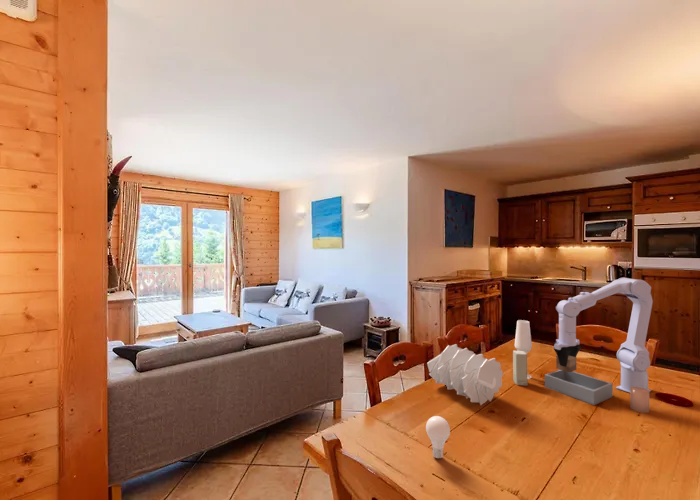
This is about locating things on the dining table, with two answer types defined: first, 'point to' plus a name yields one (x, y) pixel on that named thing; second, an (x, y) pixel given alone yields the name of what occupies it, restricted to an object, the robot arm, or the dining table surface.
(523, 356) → the box
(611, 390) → the tote
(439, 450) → the lightbulb
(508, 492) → the dining table surface
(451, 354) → the spiral staircase
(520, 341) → the champagne flute
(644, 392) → the peach capsule
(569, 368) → the walnut cube
